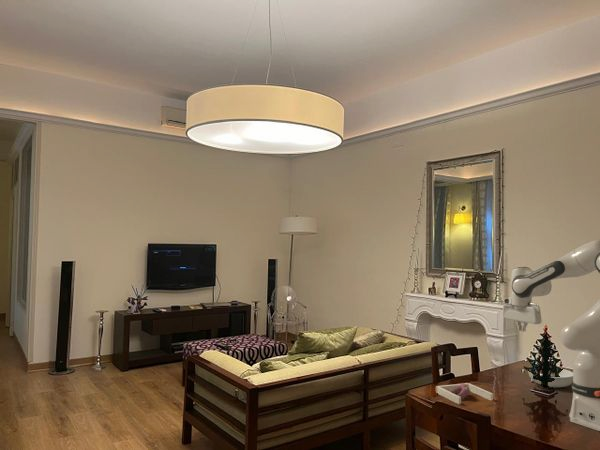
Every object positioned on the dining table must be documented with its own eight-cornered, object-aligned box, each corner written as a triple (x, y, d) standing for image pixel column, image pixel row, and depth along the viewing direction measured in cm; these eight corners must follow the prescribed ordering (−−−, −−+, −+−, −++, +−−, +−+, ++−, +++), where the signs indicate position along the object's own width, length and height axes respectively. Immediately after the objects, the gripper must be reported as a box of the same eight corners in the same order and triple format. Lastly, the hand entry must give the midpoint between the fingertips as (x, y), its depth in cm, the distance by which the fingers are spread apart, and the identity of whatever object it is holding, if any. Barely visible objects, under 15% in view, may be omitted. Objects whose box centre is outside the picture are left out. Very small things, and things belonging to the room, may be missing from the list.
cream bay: (493, 400, 214) (493, 393, 214) (458, 404, 208) (458, 397, 208) (468, 389, 230) (468, 382, 230) (435, 392, 224) (435, 386, 224)
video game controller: (465, 403, 214) (472, 390, 214) (456, 398, 214) (463, 385, 214) (460, 396, 223) (467, 383, 223) (451, 392, 224) (458, 378, 224)
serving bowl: (533, 376, 253) (533, 363, 253) (578, 384, 240) (578, 370, 240) (523, 385, 237) (522, 371, 237) (570, 394, 223) (570, 379, 224)
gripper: (544, 303, 214) (545, 334, 214) (510, 298, 233) (510, 327, 233) (533, 304, 212) (534, 335, 211) (500, 299, 231) (500, 327, 231)
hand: (521, 330), depth 222 cm, fingers closed
